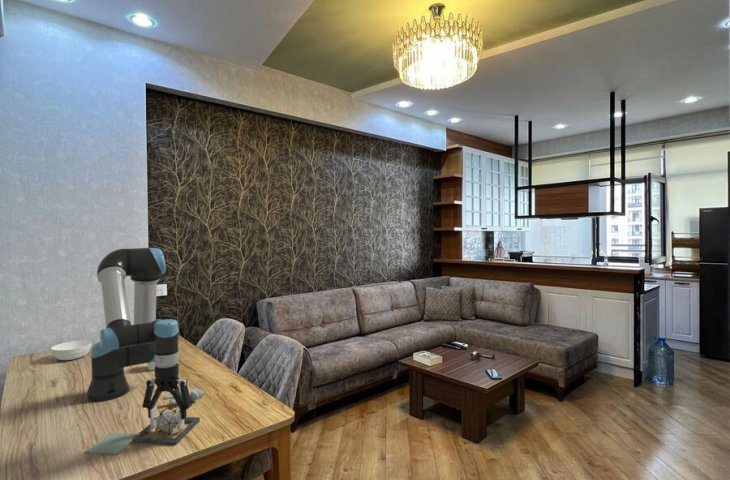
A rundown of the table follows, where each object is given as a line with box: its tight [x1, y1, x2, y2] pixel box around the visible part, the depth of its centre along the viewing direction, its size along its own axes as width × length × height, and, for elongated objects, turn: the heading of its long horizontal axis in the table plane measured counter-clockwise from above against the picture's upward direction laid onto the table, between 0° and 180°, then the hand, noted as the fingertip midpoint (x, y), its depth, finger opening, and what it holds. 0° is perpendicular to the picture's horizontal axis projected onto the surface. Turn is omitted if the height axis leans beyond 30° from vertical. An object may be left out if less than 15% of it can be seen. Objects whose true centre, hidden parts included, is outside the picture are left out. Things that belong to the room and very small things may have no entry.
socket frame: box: [131, 416, 201, 446], centre depth 134 cm, size 15×15×2 cm
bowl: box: [50, 339, 93, 361], centre depth 211 cm, size 18×18×7 cm
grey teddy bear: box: [162, 387, 205, 405], centre depth 157 cm, size 10×5×15 cm
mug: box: [147, 361, 156, 372], centre depth 195 cm, size 11×9×10 cm
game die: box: [154, 406, 178, 436], centre depth 134 cm, size 9×8×10 cm
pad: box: [84, 432, 138, 455], centre depth 126 cm, size 11×11×1 cm
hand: (167, 427), depth 134 cm, fingers closed on game die, 9 cm apart
